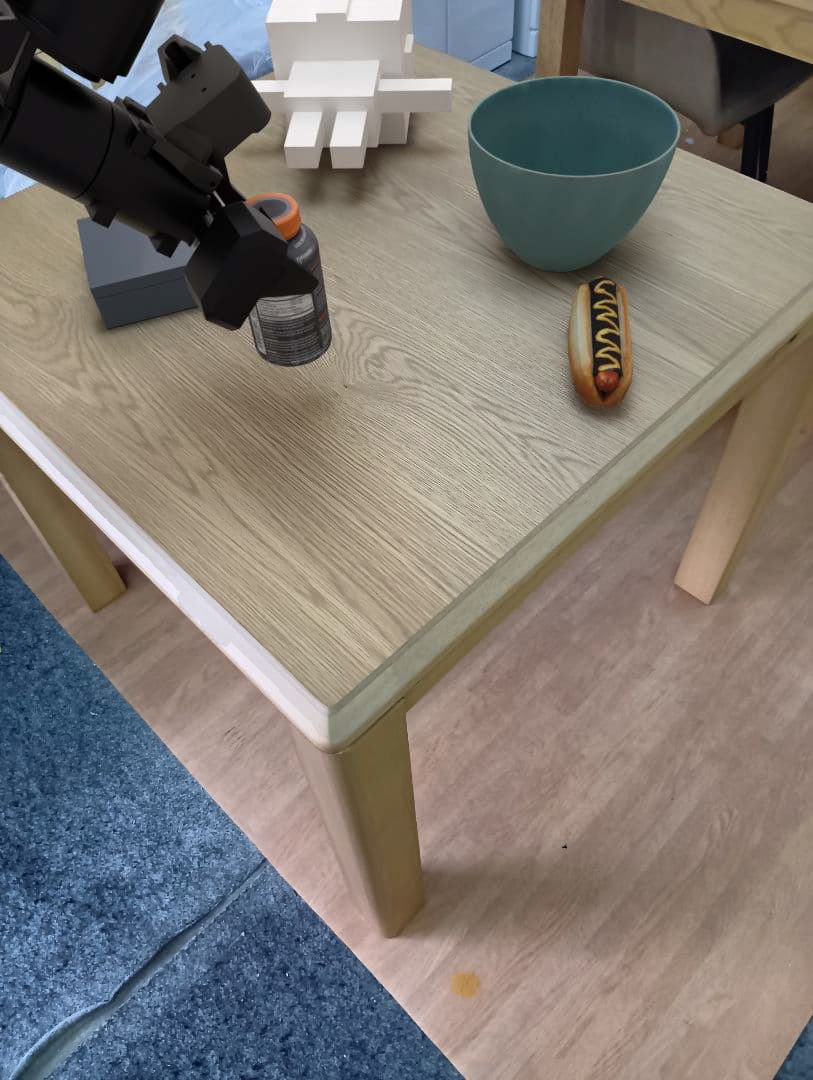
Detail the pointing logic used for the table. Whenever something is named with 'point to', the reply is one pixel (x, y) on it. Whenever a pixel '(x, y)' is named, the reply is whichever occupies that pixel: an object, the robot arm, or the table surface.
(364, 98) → the white voxel figure
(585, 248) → the teal bowl
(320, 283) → the pill bottle
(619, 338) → the hot dog
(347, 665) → the table surface
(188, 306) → the blue lidded box
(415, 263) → the table surface
